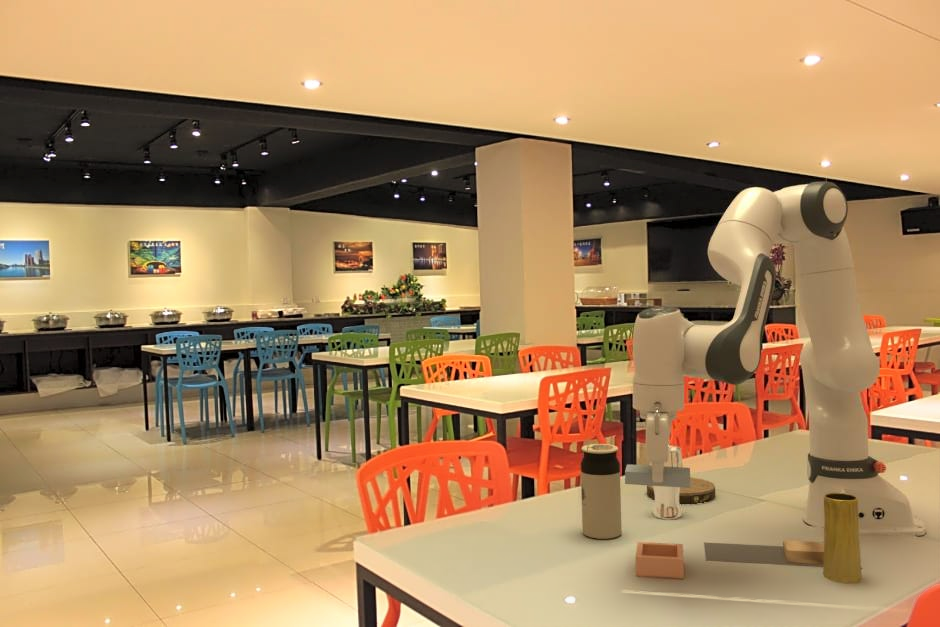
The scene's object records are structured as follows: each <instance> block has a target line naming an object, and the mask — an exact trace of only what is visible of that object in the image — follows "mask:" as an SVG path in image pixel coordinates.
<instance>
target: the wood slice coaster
mask: <svg viewBox="0 0 940 627" xmlns="http://www.w3.org/2000/svg"><path fill="white" fill-rule="evenodd" d="M646 495H647V497H648V498H649V499H650V500H652V499H653V500H652V501H655V495H654V489H653V486H649V485H646ZM714 498H716V485H715V484H714V483H713V482H712V481H709V480H707V479H703V478H697V477H691V476H690V488H682V487H681V489H680V498H679V501H680V504H681V505H680V506H683V505H682V504H695V505H698V504H697V503H703V504H705V503H704V502H708V503H710V502H709V501H711V500H713V499H714ZM714 500H715V499H714ZM714 500H713V501H714ZM711 502H712V501H711Z"/></svg>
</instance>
